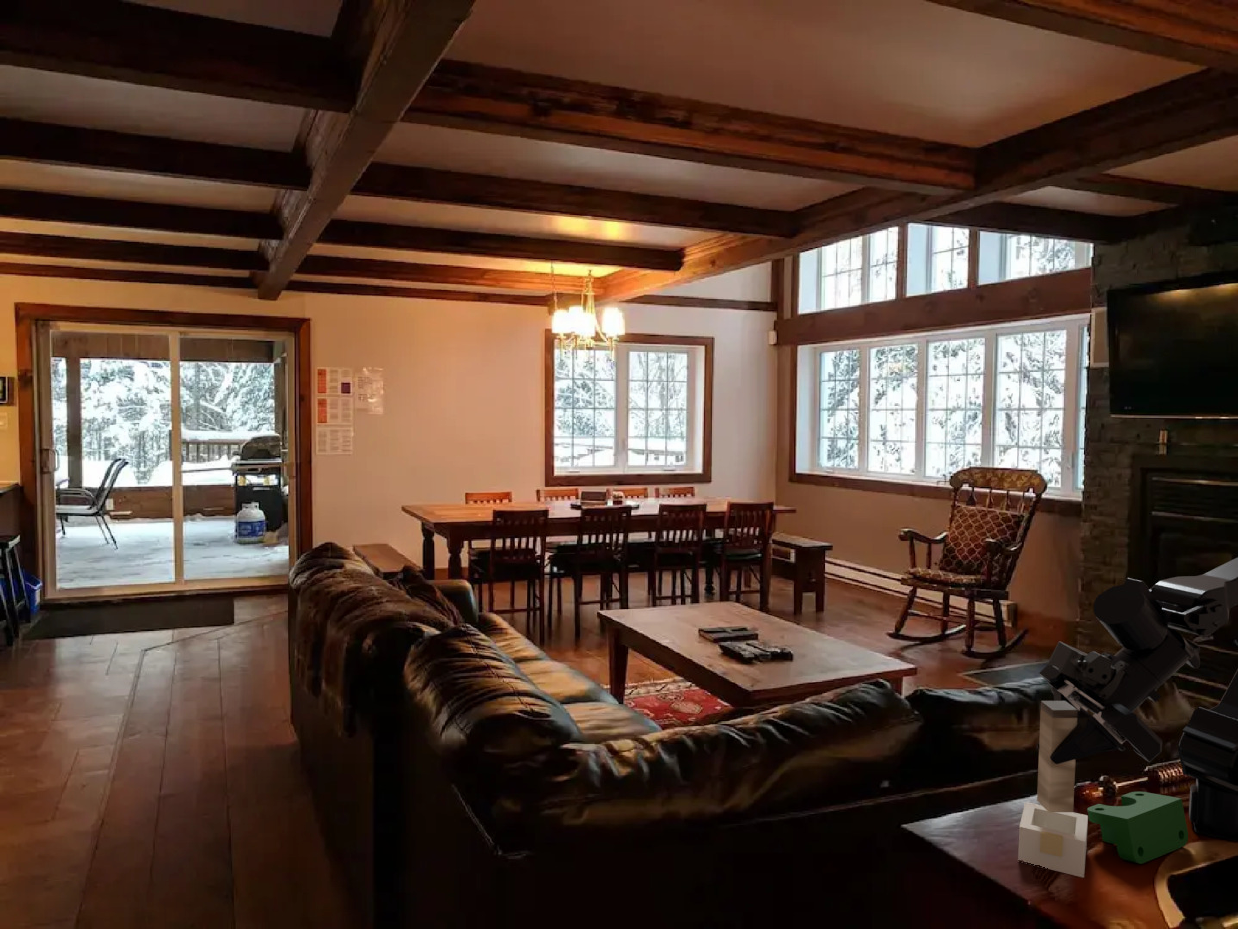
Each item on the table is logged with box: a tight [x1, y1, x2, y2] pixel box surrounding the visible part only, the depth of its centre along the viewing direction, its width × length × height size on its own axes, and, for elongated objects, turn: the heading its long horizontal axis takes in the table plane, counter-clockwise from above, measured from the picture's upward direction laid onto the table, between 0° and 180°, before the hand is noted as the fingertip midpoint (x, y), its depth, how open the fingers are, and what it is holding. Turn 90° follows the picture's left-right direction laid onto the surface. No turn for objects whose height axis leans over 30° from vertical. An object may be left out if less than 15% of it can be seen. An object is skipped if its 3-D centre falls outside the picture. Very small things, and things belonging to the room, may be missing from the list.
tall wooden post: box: [1036, 700, 1078, 812], centre depth 108 cm, size 3×3×13 cm
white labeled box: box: [1017, 801, 1089, 878], centre depth 108 cm, size 7×8×5 cm
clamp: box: [1087, 791, 1189, 865], centre depth 111 cm, size 12×6×9 cm, turn 112°
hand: (1045, 755), depth 108 cm, fingers closed on tall wooden post, 3 cm apart
